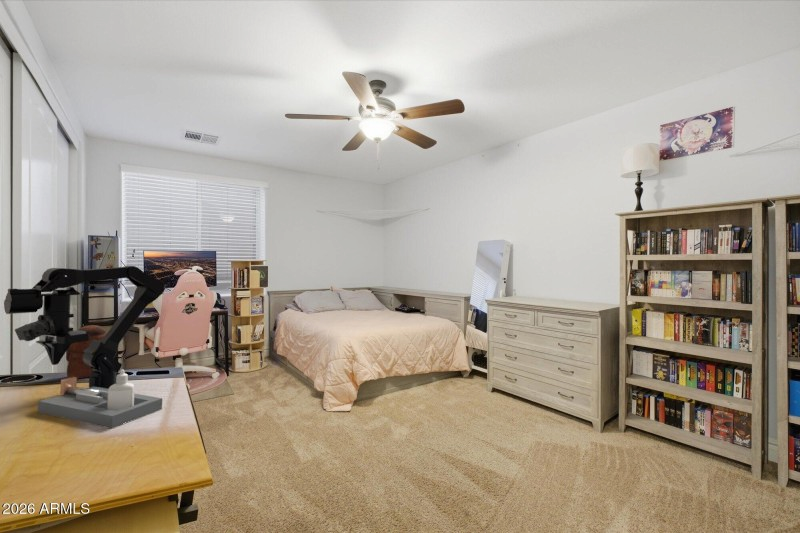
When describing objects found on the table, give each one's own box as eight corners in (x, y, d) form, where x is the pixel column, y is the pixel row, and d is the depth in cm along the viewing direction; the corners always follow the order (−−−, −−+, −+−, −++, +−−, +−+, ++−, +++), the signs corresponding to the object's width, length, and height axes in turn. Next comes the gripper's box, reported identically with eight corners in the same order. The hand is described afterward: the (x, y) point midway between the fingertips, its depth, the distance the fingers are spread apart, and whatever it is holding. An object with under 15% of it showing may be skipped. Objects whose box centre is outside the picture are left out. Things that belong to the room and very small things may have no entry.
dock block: (92, 396, 111) (93, 381, 111) (161, 408, 103) (162, 393, 103) (37, 412, 98) (38, 395, 98) (112, 428, 90) (112, 410, 90)
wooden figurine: (107, 371, 136) (109, 322, 137) (110, 374, 132) (112, 325, 132) (64, 376, 128) (66, 325, 128) (65, 381, 123) (68, 328, 124)
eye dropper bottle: (122, 418, 96) (124, 372, 96) (103, 416, 96) (105, 371, 97) (136, 412, 100) (138, 368, 100) (118, 410, 101) (120, 367, 101)
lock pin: (72, 391, 106) (73, 376, 106) (102, 396, 102) (103, 381, 102) (60, 394, 103) (61, 379, 103) (90, 400, 99) (91, 385, 99)
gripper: (-1, 311, 101) (-3, 368, 101) (44, 316, 96) (42, 375, 96) (48, 308, 112) (46, 358, 112) (91, 311, 106) (89, 365, 106)
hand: (54, 364), depth 106 cm, fingers closed
